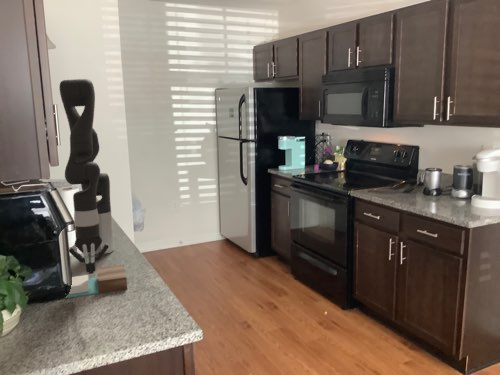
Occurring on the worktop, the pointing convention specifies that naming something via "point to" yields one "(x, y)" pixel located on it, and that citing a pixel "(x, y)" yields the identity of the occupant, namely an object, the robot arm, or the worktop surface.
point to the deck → (111, 278)
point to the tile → (79, 284)
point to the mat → (92, 289)
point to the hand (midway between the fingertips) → (91, 272)
